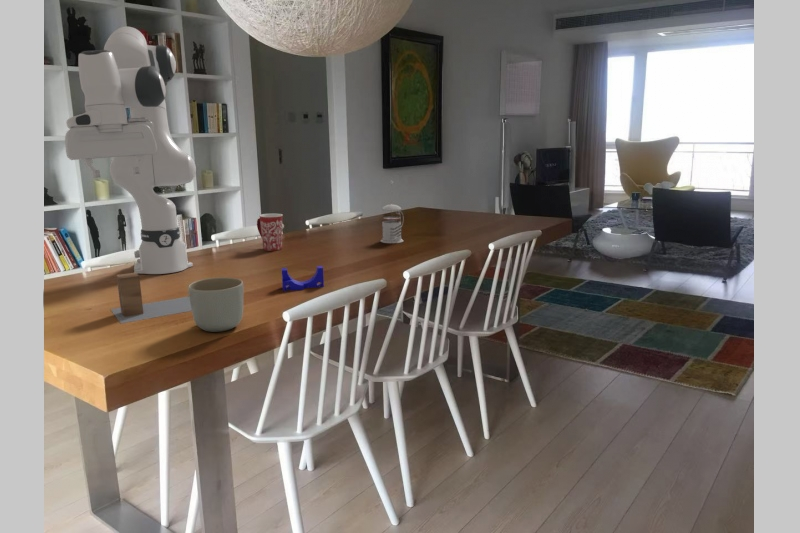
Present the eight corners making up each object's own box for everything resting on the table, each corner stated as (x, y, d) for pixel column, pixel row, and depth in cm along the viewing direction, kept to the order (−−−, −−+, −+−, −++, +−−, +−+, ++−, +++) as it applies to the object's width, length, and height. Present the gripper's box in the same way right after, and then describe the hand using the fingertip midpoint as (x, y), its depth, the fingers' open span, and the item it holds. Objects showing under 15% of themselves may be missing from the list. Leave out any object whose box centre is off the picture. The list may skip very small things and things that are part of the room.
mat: (110, 310, 154) (110, 309, 154) (195, 296, 167) (195, 295, 166) (120, 324, 143) (120, 323, 143) (210, 308, 155) (210, 307, 155)
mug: (289, 248, 231) (287, 214, 228) (270, 252, 224) (268, 217, 221) (269, 244, 239) (267, 211, 236) (251, 248, 232) (248, 214, 229)
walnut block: (121, 312, 151) (116, 275, 149) (139, 309, 154) (135, 272, 152) (124, 317, 148) (119, 278, 145) (143, 313, 150) (139, 275, 148)
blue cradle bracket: (283, 291, 172) (282, 271, 170) (282, 287, 176) (281, 268, 175) (324, 288, 174) (323, 269, 173) (322, 285, 179) (321, 265, 177)
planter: (248, 332, 137) (245, 287, 135) (192, 339, 133) (188, 293, 131) (243, 316, 149) (240, 275, 146) (191, 322, 145) (187, 279, 142)
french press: (375, 241, 244) (374, 180, 238) (393, 237, 253) (392, 178, 247) (393, 244, 238) (392, 182, 232) (411, 239, 247) (411, 180, 241)
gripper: (148, 118, 151) (157, 172, 154) (58, 121, 140) (70, 180, 142) (155, 115, 146) (164, 171, 149) (62, 118, 135) (74, 179, 137)
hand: (117, 175), depth 145 cm, fingers open, 8 cm apart
